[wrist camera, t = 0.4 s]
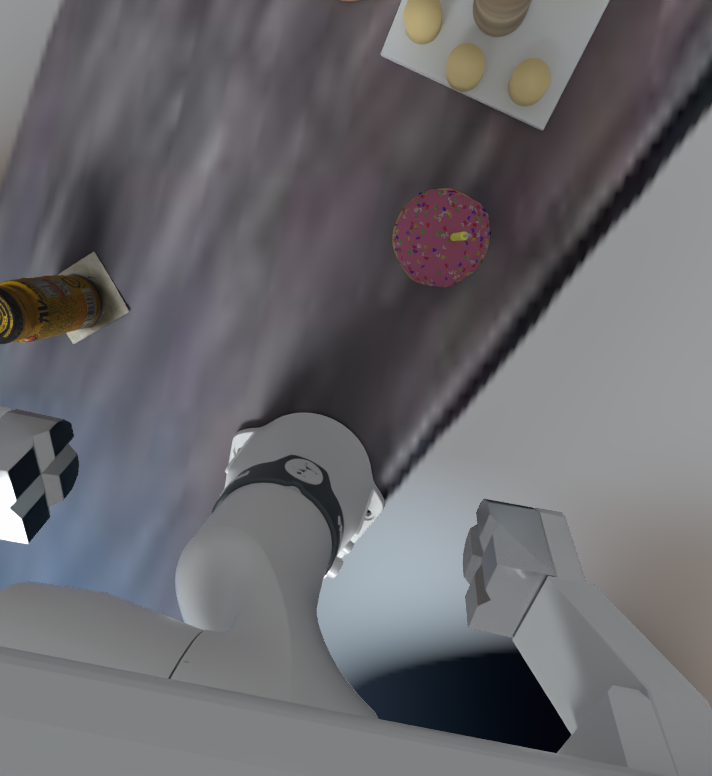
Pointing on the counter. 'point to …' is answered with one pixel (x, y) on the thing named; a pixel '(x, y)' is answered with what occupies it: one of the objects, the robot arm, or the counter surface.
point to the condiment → (59, 304)
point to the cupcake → (441, 237)
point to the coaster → (349, 0)
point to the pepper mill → (499, 15)
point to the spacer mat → (496, 52)
